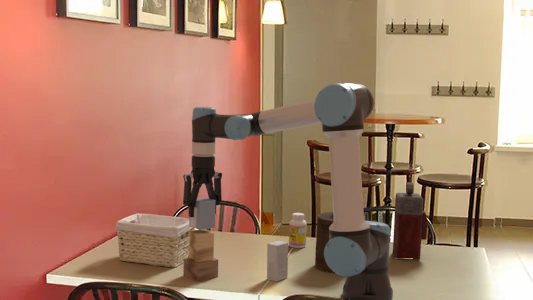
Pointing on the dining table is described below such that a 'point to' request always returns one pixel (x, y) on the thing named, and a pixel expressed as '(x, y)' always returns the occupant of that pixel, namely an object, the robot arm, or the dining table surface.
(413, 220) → the red square decanter
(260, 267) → the dining table surface
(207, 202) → the blue block
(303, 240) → the supplement bottle
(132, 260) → the storage basket
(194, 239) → the oak block
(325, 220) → the wooden container
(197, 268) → the base block
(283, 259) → the skincare box
